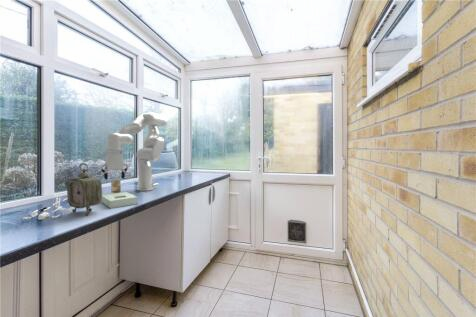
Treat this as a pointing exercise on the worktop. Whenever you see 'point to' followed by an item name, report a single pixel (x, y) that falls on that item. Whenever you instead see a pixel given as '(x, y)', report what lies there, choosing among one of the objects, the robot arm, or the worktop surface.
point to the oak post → (115, 186)
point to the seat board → (119, 199)
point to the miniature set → (46, 214)
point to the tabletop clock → (84, 191)
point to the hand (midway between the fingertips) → (114, 178)
